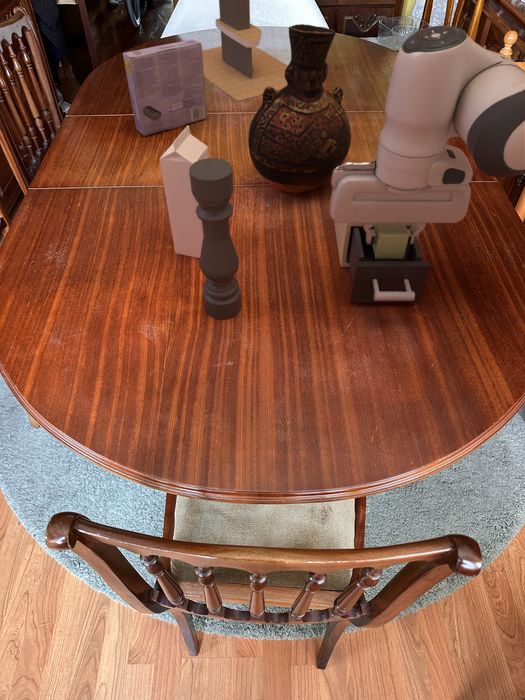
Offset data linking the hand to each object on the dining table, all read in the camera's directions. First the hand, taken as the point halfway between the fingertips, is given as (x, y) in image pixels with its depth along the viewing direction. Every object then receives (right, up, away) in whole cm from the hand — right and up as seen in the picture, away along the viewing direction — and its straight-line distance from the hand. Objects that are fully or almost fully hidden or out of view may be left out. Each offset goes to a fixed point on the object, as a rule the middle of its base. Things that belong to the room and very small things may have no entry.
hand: (389, 241), depth 82 cm
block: (0, -1, +1) cm, 2 cm away
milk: (-33, +2, +14) cm, 36 cm away
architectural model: (-27, +67, +70) cm, 101 cm away
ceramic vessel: (-13, +18, +28) cm, 36 cm away
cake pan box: (-43, +40, +47) cm, 75 cm away
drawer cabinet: (0, +3, +15) cm, 16 cm away
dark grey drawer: (0, -6, +6) cm, 8 cm away
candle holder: (-27, -10, +4) cm, 29 cm away
